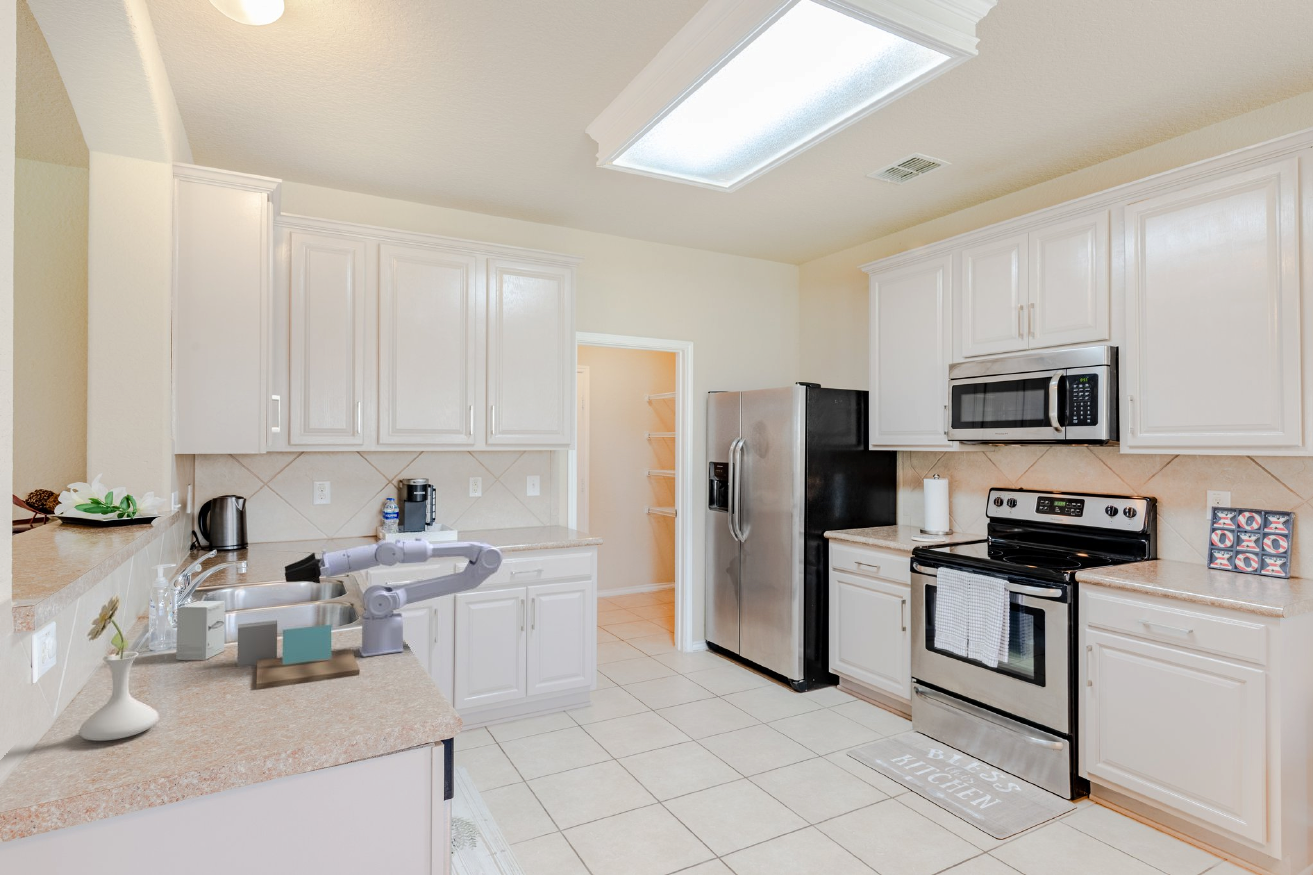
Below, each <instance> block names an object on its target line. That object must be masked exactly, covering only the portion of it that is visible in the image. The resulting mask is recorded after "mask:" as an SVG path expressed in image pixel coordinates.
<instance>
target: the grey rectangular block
mask: <svg viewBox="0 0 1313 875" xmlns="http://www.w3.org/2000/svg"><path fill="white" fill-rule="evenodd" d="M273 658H278V620H268V621H257V622H248V623H247V622H246V623H238V624H237V668H238V667H239V668H240V667H247V666H255V665H256V666H257V660H265V659H273Z"/></svg>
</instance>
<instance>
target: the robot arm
mask: <svg viewBox="0 0 1313 875" xmlns="http://www.w3.org/2000/svg"><path fill="white" fill-rule="evenodd" d="M321 551H322V553H321V555H322V556H319V557H317V558H316V553H315V552H312V553H311V554H309V555H308V556H306V557H305V558H302V559H300V560H298V561H295V562H293V563H290V564H288V565H286V566H284V571H285V572H284V577H285V582H286V583H299V582H304V583H305V582H308V583H315V584H321V579H320V577H321V578H322V577H326V578H325V579H330V578H331V577H335V576H340V575H345V574H350V573H354V572H358V571H362V570H366V569H370V568H374V567H377V566H386V567H387V566H388V567H393V566H395V565H397V563H399V564H415V563H417V564H418V563H427V561H429V559H430V558H432V557H434V558H435V557H437V558H440V557H463V558H465V559H468V562H467V564H466V566H465V568H464V569H463V571H461V572H456V573H451V574H446V575H442V576H437V577H432V578H429V579H428V578H427V579H424V580H418V581H414V582H409V583H405V584H395V585H394V584H393V585H392V584H391V585H387V586H386V585H385V586H384V585H382V584H381V585H380V584H372V585H371V586H369V587H368V588H366V590H365V591H364V592H363V595H362V603H363V605H364V606H365V607H366V609H365V610H364V612H363V613H362V614H361V616H362V617H361V618H362V620H361V622H362V623H361V646H359V647H358V650H359V653H360V655H361V657H365V658H366V657H373V656H379V655H387V654H394V653H395V654H396V653H402V652H404V648H403V647H404V646H403V645H404V620H403V619H404V618H403V615H402V613H400V612H395V613H394V611H396V610H400V609H401V608H402V607H404V606H406V605H409V604H413V603H419V602H422V601H426V600H427V601H428V600H431V599H435V598H439V597H444V596H448V595H452V594H457V593H461V592H466V591H470V590H474V589H476V588H478V587H479V586H480V585H481V584H483V582H485V581H486V580H487V579H488V578H490V576H492V575H494V574H495V573H497V572H498V571H499V569H500V567H501V565H502V562H503V553H502V551H501V549H499V548H498V547H496V546H495V545H494V546H493V545H492V544H490V543H488V542H485V541H482V542H478V541H458V542H445V543H443V542H442V543H430V542H429V541H428V539H422V537H420V536H418V537H415V539H412V540H411V539H408V540H407V539H406V540H403V539H402V540H401V539H400V538H395V541H392V540H389V539H385V540H384V539H380V540H378V541H377V542H376V543H375V544H374V543H373V544H369V545H361V546H360V545H359V546H355V547H352V548H346V549H341V550H337V551H332V552H328V553H327V551H326V548H322V549H321Z"/></svg>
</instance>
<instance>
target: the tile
mask: <svg viewBox="0 0 1313 875" xmlns="http://www.w3.org/2000/svg"><path fill="white" fill-rule="evenodd" d="M331 651H332V624H324V625H314V626H305V627H304V626H303V627H300V628H299V627H297V628H296V627H295V628H289V629H282V657H283V665H284V664H292V663H300V662H307V661H315V660H323V659H330V658H331Z"/></svg>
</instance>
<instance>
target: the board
mask: <svg viewBox="0 0 1313 875" xmlns="http://www.w3.org/2000/svg"><path fill="white" fill-rule="evenodd" d="M360 673H361V672H360V667H359V664H358V663H357V660H356V657H355V654H354V652H353V651H352V648H346V649H345V648H344V649H337V650H331V658H330V659H323V660H315V661H307V662H300V663H292V664H284V665H283V656H282V657H277V658H273V659H265V660H257V664H256V690H261V689H263V690H264V689H271V688H276V687H284V686H291V685H296V684H303V683H311V682H318V681H325V680H324V679H326V680H332V679H333V680H334V679H339V678H347V677H352V676H359V674H360Z"/></svg>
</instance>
